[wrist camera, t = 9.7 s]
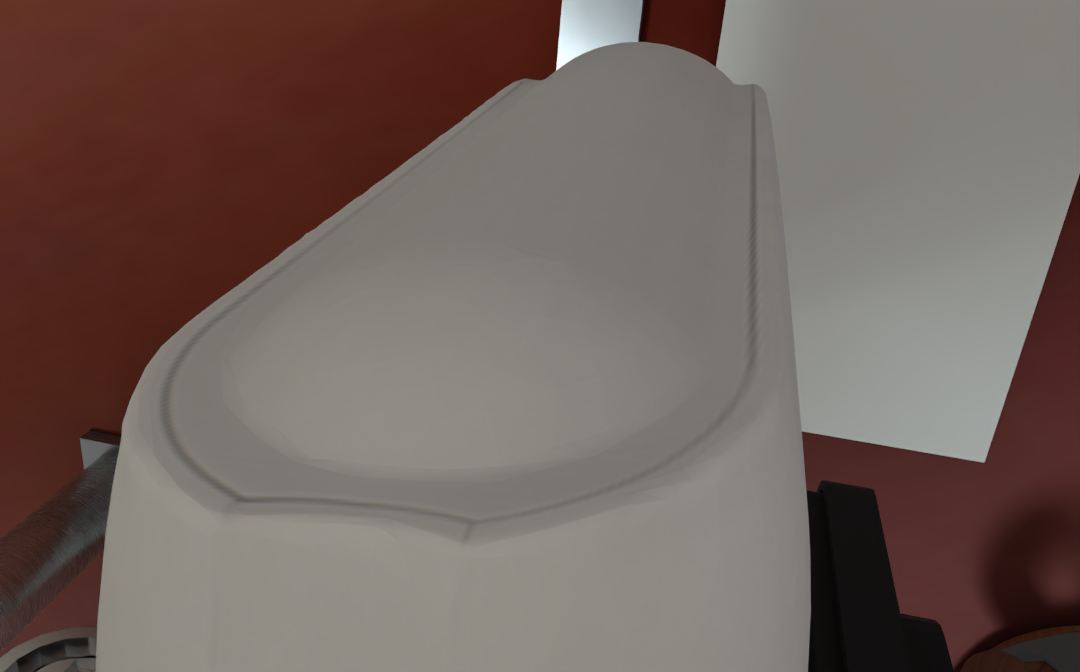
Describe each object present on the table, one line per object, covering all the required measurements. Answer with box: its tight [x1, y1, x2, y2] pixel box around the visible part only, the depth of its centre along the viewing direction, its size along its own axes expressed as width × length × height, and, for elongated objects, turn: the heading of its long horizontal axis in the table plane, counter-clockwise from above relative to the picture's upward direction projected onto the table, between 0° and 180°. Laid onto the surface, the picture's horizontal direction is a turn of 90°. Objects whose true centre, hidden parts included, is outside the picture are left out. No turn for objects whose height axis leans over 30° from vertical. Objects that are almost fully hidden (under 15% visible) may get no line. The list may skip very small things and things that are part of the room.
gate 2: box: [556, 0, 645, 70], centre depth 20 cm, size 20×2×14 cm, turn 175°
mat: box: [716, 0, 1080, 463], centre depth 25 cm, size 13×9×1 cm
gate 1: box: [0, 430, 121, 651], centre depth 26 cm, size 3×17×14 cm, turn 85°
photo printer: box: [95, 42, 811, 672], centre depth 10 cm, size 10×4×12 cm, turn 1°
